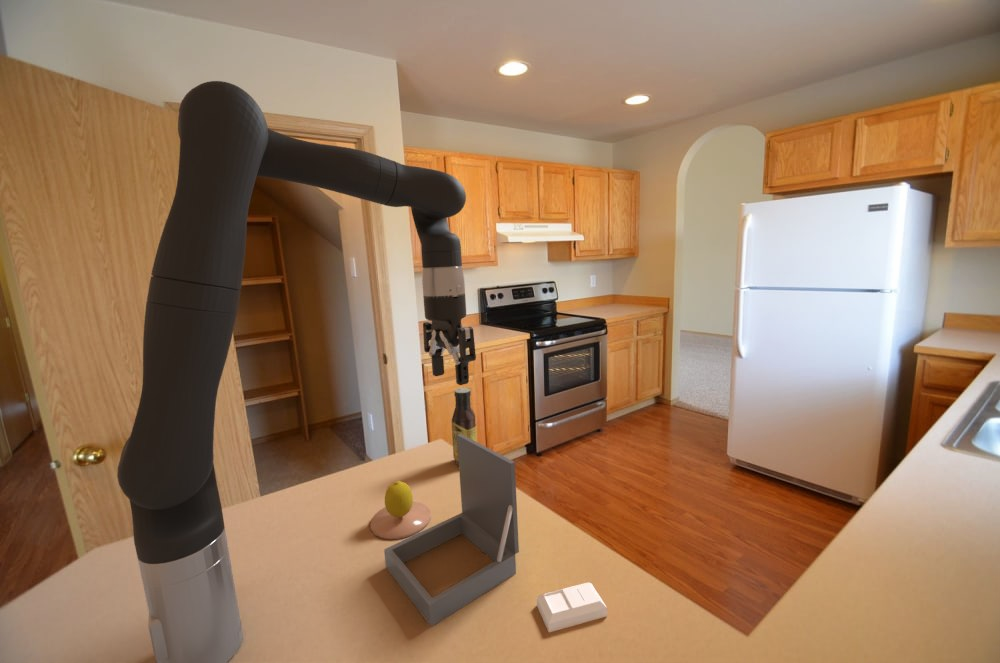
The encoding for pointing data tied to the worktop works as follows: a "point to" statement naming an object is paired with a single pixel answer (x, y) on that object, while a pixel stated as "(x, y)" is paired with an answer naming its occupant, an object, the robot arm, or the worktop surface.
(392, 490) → the lemon
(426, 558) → the worktop surface
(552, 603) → the white rocker switch
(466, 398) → the sauce bottle
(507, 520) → the case
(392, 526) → the saucer
